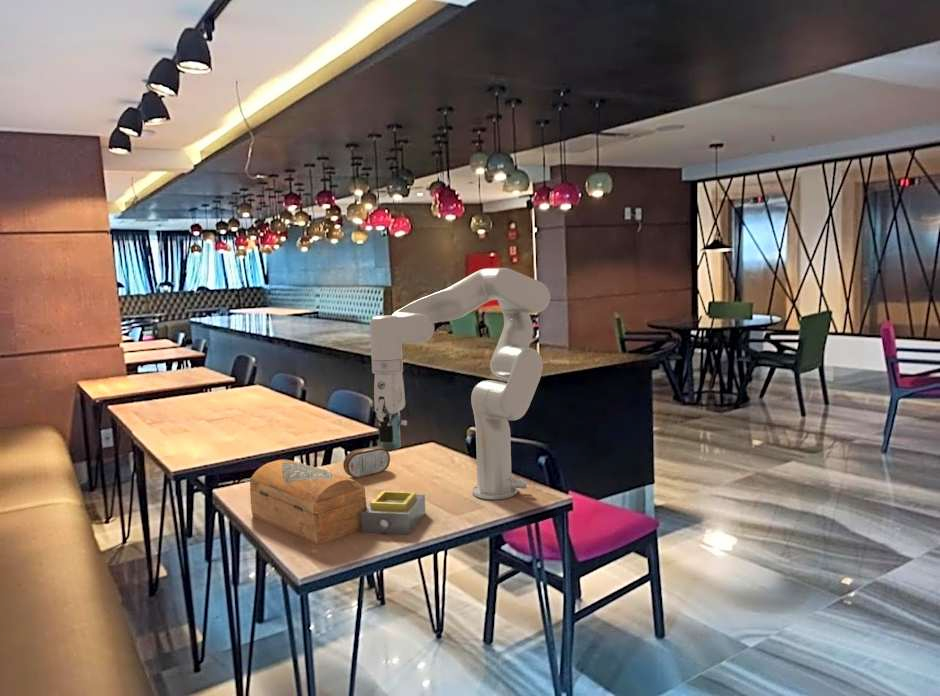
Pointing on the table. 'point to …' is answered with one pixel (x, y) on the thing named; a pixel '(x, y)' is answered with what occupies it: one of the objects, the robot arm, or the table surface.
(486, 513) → the table surface
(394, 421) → the spout can
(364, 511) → the grey yellow box
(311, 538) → the wooden box
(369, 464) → the tin
